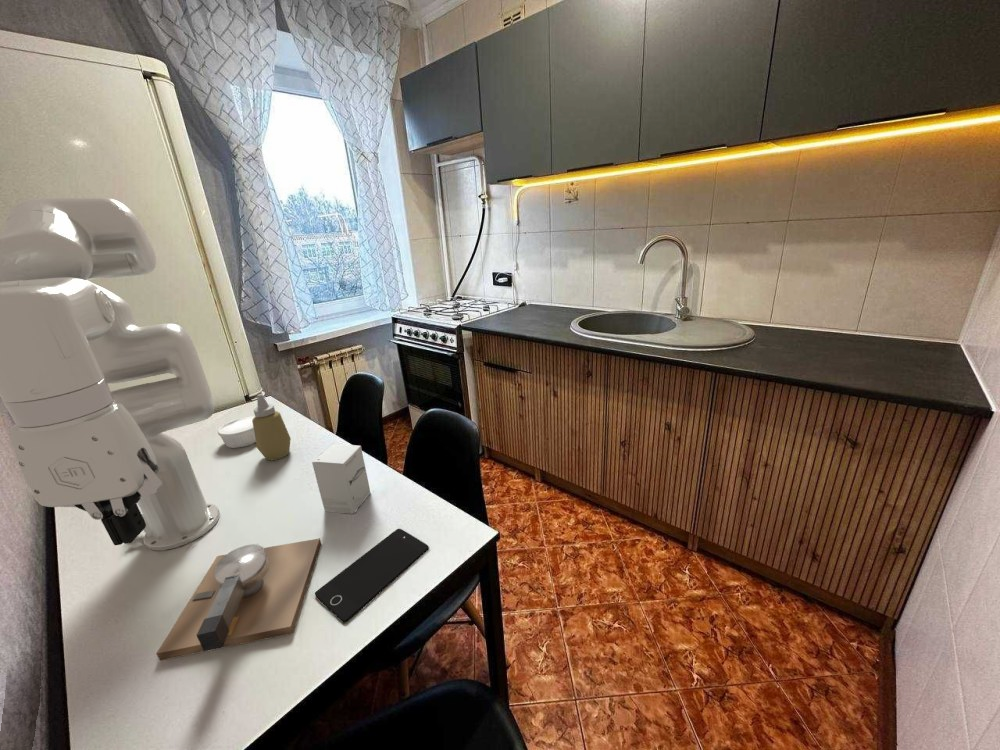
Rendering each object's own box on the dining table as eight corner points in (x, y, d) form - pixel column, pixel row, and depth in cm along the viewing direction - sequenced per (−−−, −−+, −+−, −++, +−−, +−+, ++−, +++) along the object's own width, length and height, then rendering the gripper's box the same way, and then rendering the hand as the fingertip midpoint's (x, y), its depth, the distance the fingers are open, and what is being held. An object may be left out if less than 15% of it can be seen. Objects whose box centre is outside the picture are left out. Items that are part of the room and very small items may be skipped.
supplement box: (354, 515, 83) (342, 464, 78) (323, 511, 84) (310, 461, 80) (372, 492, 89) (361, 444, 85) (343, 490, 91) (331, 442, 86)
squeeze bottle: (300, 451, 108) (283, 392, 102) (271, 466, 102) (251, 404, 96) (283, 444, 113) (267, 386, 106) (255, 458, 106) (235, 398, 100)
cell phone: (314, 597, 65) (313, 593, 65) (399, 530, 78) (398, 527, 78) (345, 626, 60) (344, 621, 59) (430, 550, 73) (430, 546, 73)
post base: (159, 660, 56) (149, 641, 55) (219, 562, 73) (212, 545, 71) (293, 633, 59) (286, 614, 57) (321, 544, 75) (316, 528, 74)
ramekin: (242, 430, 122) (237, 415, 121) (274, 431, 121) (270, 416, 119) (213, 450, 112) (207, 433, 110) (248, 451, 110) (242, 434, 109)
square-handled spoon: (229, 563, 67) (223, 549, 65) (274, 554, 68) (269, 539, 67) (184, 657, 52) (175, 640, 51) (242, 642, 54) (235, 625, 52)
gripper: (-58, 429, 38) (34, 571, 44) (117, 409, 40) (180, 547, 47) (16, 398, 45) (86, 525, 51) (162, 382, 47) (211, 506, 54)
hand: (131, 535), depth 49 cm, fingers closed
